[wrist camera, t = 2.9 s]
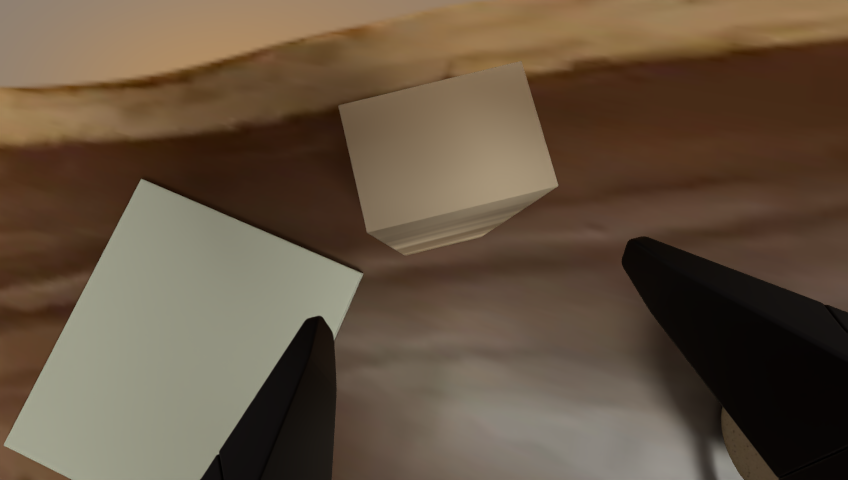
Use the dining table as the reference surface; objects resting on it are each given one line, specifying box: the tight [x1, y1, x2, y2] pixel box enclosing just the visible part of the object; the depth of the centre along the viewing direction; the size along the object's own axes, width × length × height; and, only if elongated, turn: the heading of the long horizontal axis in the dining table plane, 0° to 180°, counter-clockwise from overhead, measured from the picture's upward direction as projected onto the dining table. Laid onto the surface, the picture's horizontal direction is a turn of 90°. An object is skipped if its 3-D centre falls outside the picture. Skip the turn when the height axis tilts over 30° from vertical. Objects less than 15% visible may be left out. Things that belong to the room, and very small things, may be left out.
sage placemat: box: [4, 179, 363, 480], centre depth 19 cm, size 18×16×1 cm
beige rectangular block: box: [338, 61, 558, 256], centre depth 14 cm, size 4×5×12 cm
